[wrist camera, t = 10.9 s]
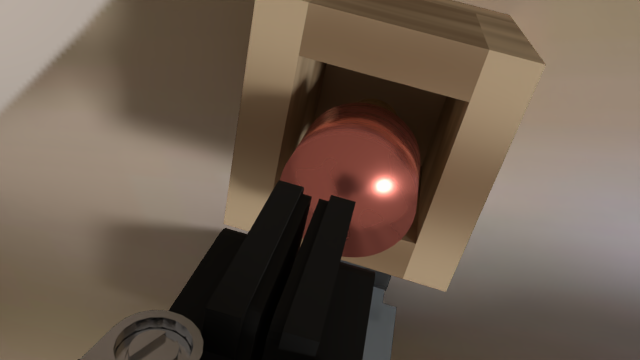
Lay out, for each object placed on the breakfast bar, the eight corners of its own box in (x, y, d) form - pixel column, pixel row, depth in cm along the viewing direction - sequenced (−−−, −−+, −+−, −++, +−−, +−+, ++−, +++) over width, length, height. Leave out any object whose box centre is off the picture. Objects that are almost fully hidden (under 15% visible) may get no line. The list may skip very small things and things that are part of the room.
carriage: (266, 253, 26) (206, 366, 19) (397, 294, 25) (382, 425, 19) (253, 316, 28) (196, 437, 22) (374, 355, 28) (353, 492, 21)
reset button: (444, 137, 17) (445, 217, 13) (362, 189, 19) (335, 277, 14) (381, 53, 17) (358, 106, 12) (301, 114, 18) (252, 182, 13)
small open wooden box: (318, -34, 21) (256, -12, 14) (509, 15, 20) (545, 64, 13) (284, 138, 25) (223, 223, 18) (444, 184, 24) (445, 291, 17)
